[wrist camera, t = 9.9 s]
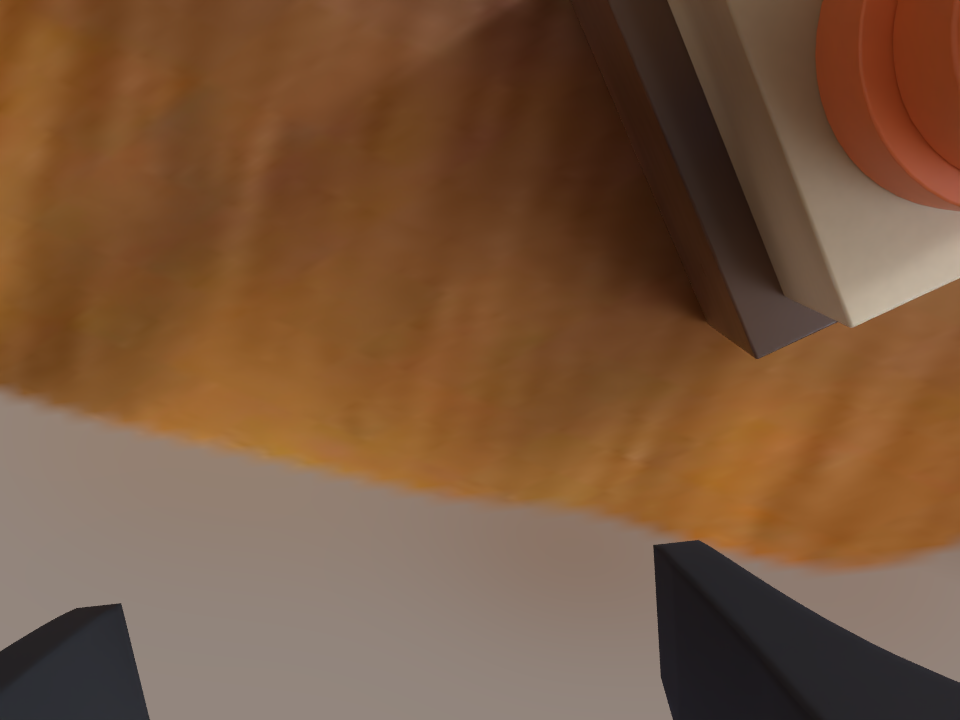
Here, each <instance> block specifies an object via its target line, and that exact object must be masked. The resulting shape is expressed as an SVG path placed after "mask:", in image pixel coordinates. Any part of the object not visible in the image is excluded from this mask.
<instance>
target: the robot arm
mask: <svg viewBox="0 0 960 720" xmlns="http://www.w3.org/2000/svg"><path fill="white" fill-rule="evenodd" d="M653 547H654V563H655V582H656V598H657V599H656V600H657V617H658V634H659V652H660V669H661V679H662V683H663V686H664V690H665V693H666V697H667V700H668V704H669V707H670V711H671V714H672V717H673V720H960V683H959V682H957V681H954V680H952V679H949V678H947V677H945V676H943V675H940V674H938V673H936V672H933V671H931V670H929V669H927V668H924V667H922V666H920V665H917V664H915V663H912V662H911V661H908V660H906V659H904V658H901V657H899V656H897V655H895V654H893V653H891V652H889V651H887V650H884V649H882V648H880V647H878V646H876V645H874V644H872V643H870V642H868V641H866V640H864V639H863V638H861V637H859V636H857V635H855V634H853V633H851V632H850V631H848V630H846V629H844V628H842V627H840V626H838V625H836V624H835V623H833V622H831V621H829V620H827V619H825V618H823V617H821V616H820V615H818V614H817V613H815V612H813V611H811V610H810V609H808V608H806V607H804V606H803V605H801V604H800V603H798V602H796V601H795V600H793V599H791V598H790V597H788V596H786V595H785V594H783V593H782V592H780V591H778V590H777V589H775V588H773V587H772V586H770V585H769V584H767V583H765V582H764V581H762V580H761V579H759V578H758V577H756V576H755V575H753V574H751V573H750V572H748V571H747V570H745V569H744V568H742V567H741V566H739V565H738V564H736V563H735V562H733V561H732V560H730V559H729V558H727V557H725V556H724V555H722V554H721V553H719V552H718V551H716V550H715V549H713V548H711V547H710V546H708V545H706V544H705V543H703V542H701V541H699V540H695V541H686V542H677V543H668V544H659V545H653ZM0 720H150V719H149V715H148V711H147V707H146V703H145V699H144V695H143V691H142V687H141V682H140V679H139V674H138V670H137V666H136V662H135V658H134V654H133V650H132V646H131V642H130V638H129V633H128V629H127V625H126V621H125V617H124V613H123V609H122V605H121V603H120V604H111V605H102V606H93V607H84V608H76V609H74V610H72V611H70V612H67V613H65V614H63V615H61V616H59V617H57V618H55V619H54V620H52V621H50V622H48V623H47V624H45V625H43V626H41V627H39V628H38V629H36V630H34V631H33V632H31V633H29V634H28V635H26V636H25V637H23V638H21V639H20V640H18V641H16V642H15V643H13V644H11V645H10V646H8V647H7V648H5V649H4V650H2V651H0Z"/></svg>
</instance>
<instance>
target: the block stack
mask: <svg viewBox="0 0 960 720" xmlns="http://www.w3.org/2000/svg"><path fill="white" fill-rule="evenodd" d="M570 1H571V3H572V5H573V8H574V10H575V13H576V15H577V17H578V20H579V22H580V24H581V27H582V29H583V31H584V34H585V36H586V38H587V41H588V43H589V45H590V48H591V50H592V52H593V55H594V57H595V60H596V62H597V64H598V67H599V69H600V71H601V74H602V76H603V78H604V81H605V83H606V85H607V88H608V90H609V92H610V95H611V97H612V99H613V102H614V104H615V107H616V109H617V111H618V114H619V116H620V118H621V121H622V123H623V125H624V128H625V130H626V132H627V135H628V137H629V139H630V142H631V144H632V147H633V149H634V151H635V154H636V156H637V158H638V161H639V163H640V165H641V168H642V170H643V172H644V175H645V177H646V179H647V182H648V184H649V186H650V189H651V191H652V194H653V196H654V198H655V201H656V203H657V205H658V208H659V210H660V212H661V215H662V217H663V219H664V222H665V224H666V226H667V229H668V231H669V233H670V236H671V238H672V241H673V243H674V245H675V248H676V250H677V252H678V255H679V257H680V259H681V262H682V264H683V266H684V269H685V271H686V273H687V276H688V278H689V280H690V283H691V285H692V288H693V290H694V292H695V295H696V297H697V299H698V302H699V304H700V306H701V309H702V311H703V313H704V316H705V318H706V320H707V323H708V324H709V325H710V326H712V327H713V328H714V329H716V330H717V331H718V332H720V333H721V334H723V335H724V336H725V337H727V338H728V339H730V340H731V341H732V342H734V343H735V344H736V345H738V346H739V347H741V348H742V349H743V350H745V351H746V352H747V353H749V354H750V355H752V356H753V357H754V358H756V359H759V358H761V357H763V356H765V355H768V354H770V353H772V352H774V351H776V350H778V349H780V348H783V347H785V346H787V345H789V344H791V343H793V342H796V341H798V340H800V339H802V338H804V337H806V336H808V335H811V334H813V333H815V332H817V331H819V330H821V329H824V328H826V327H828V326H830V325H832V324H834V323H836V322H840V323H842V324H844V325H846V326H848V327H855V326H857V325H859V324H861V323H864V322H866V321H868V320H870V319H872V318H874V317H877V316H879V315H881V314H883V313H885V312H887V311H889V310H892V309H894V308H896V307H898V306H900V305H902V304H905V303H907V302H909V301H911V300H913V299H915V298H918V297H920V296H922V295H924V294H926V293H928V292H930V291H933V290H935V289H937V288H939V287H941V286H943V285H946V284H948V283H950V282H952V281H954V280H956V279H959V278H960V211H953V210H945V209H938V208H933V207H929V206H925V205H920V204H916V203H914V202H911V201H909V200H906V199H903V198H901V197H898V196H896V195H895V194H893V193H891V192H889V191H888V190H886V189H884V188H882V187H881V186H879V185H878V184H877V183H875V182H874V181H873V180H872V179H870V178H869V177H868V176H867V175H865V174H864V173H863V172H862V171H861V170H860V169H859V168H858V166H857V165H856V164H855V163H854V162H853V161H852V160H851V159H850V158H849V156H848V155H847V153H846V152H845V151H844V149H843V148H842V146H841V145H840V143H839V142H838V140H837V138H836V136H835V134H834V132H833V130H832V128H831V126H830V124H829V122H828V120H827V117H826V114H825V111H824V108H823V105H822V102H821V97H820V92H819V87H818V82H817V74H816V59H815V51H816V35H817V27H818V21H819V16H820V10H821V5H822V2H823V0H570Z"/></svg>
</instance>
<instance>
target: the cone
mask: <svg viewBox="0 0 960 720" xmlns="http://www.w3.org/2000/svg"><path fill="white" fill-rule="evenodd" d="M815 59H816V74H817V82H818V87H819V92H820V97H821V102H822V105H823V108H824V111H825V114H826V117H827V120H828V122H829V124H830V126H831V128H832V130H833V132H834V134H835V136H836V138H837V140H838V142H839V143H840V145H841V146H842V148H843V149H844V151H845V152H846V153H847V155H848V156H849V158H850V159H851V160H852V161H853V162H854V163H855V164H856V165H857V166H858V168H859V169H860V170H861V171H862V172H863V173H864V174H865V175H867V176H868V177H869V178H870V179H872V180H873V181H874V182H875V183H877V184H878V185H879V186H881V187H882V188H884V189H886V190H888V191H889V192H891V193H893V194H895V195H896V196H898V197H901V198H903V199H906V200H909V201H911V202H914V203H916V204H920V205H925V206H929V207H933V208H938V209H945V210H953V211H960V0H823V2H822V5H821V10H820V16H819V21H818V27H817V35H816V51H815Z"/></svg>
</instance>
